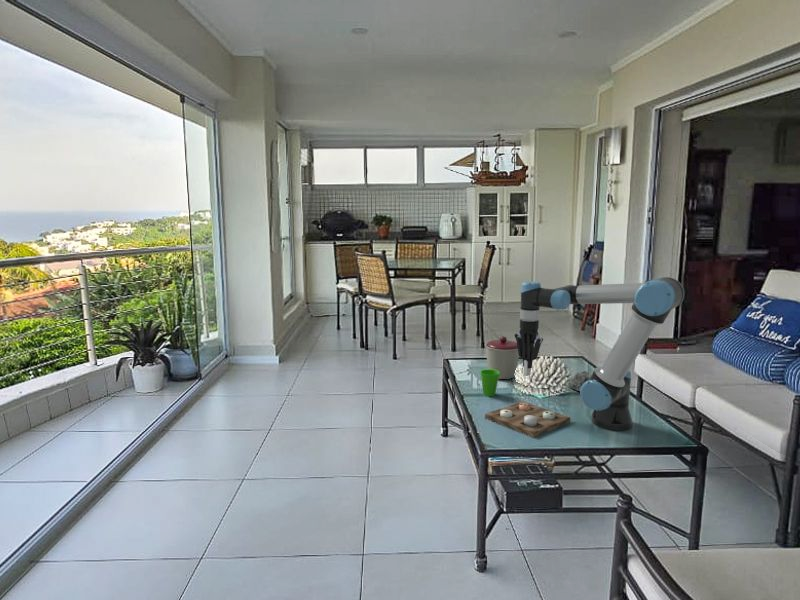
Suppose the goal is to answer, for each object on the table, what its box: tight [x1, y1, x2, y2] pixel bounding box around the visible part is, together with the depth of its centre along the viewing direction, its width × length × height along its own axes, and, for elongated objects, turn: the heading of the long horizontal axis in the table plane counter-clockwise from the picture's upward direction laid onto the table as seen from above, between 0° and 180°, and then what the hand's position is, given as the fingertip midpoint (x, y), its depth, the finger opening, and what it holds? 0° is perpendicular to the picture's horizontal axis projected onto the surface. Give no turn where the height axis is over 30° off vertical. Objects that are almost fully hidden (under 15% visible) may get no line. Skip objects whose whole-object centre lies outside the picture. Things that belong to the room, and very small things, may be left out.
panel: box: [484, 400, 571, 438], centre depth 220 cm, size 24×24×2 cm
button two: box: [543, 410, 555, 421], centre depth 219 cm, size 5×5×3 cm
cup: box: [479, 368, 500, 397], centre depth 249 cm, size 9×9×11 cm
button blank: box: [524, 415, 537, 428], centre depth 211 cm, size 5×5×3 cm
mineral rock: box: [567, 370, 592, 392], centre depth 256 cm, size 13×11×10 cm
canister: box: [484, 335, 520, 380], centre depth 275 cm, size 18×18×21 cm
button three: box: [519, 402, 531, 412], centre depth 228 cm, size 5×5×3 cm
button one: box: [500, 410, 512, 419], centre depth 221 cm, size 5×5×3 cm
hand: (526, 375), depth 226 cm, fingers closed
